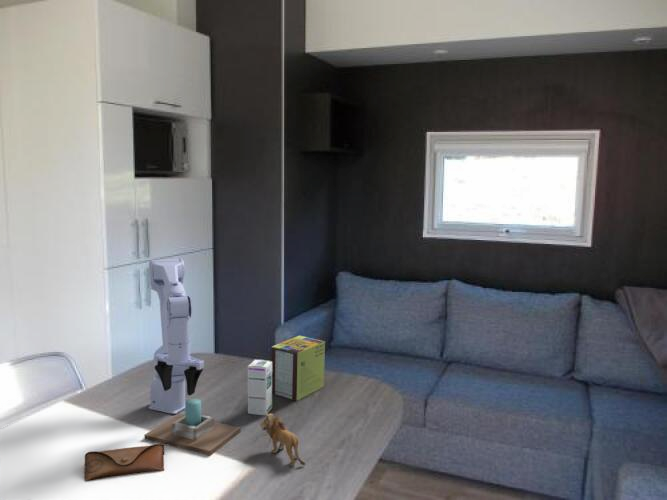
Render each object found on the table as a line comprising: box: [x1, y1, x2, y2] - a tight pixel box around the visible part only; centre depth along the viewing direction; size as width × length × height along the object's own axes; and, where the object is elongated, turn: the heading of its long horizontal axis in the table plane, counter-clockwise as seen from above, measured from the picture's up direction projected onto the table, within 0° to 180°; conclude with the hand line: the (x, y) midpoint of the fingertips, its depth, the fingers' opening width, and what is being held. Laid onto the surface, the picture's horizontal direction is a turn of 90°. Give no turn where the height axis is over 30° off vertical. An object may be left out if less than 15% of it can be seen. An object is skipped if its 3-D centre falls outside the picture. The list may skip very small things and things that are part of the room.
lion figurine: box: [259, 413, 306, 467], centre depth 138 cm, size 15×5×9 cm, turn 47°
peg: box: [184, 398, 202, 427], centre depth 147 cm, size 4×4×8 cm
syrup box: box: [246, 359, 273, 417], centre depth 163 cm, size 6×6×14 cm
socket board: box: [143, 413, 242, 456], centre depth 148 cm, size 20×14×4 cm
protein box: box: [270, 335, 326, 402], centre depth 179 cm, size 10×15×16 cm
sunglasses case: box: [84, 443, 165, 483], centre depth 132 cm, size 18×7×7 cm, turn 110°
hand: (179, 391), depth 150 cm, fingers open, 7 cm apart
